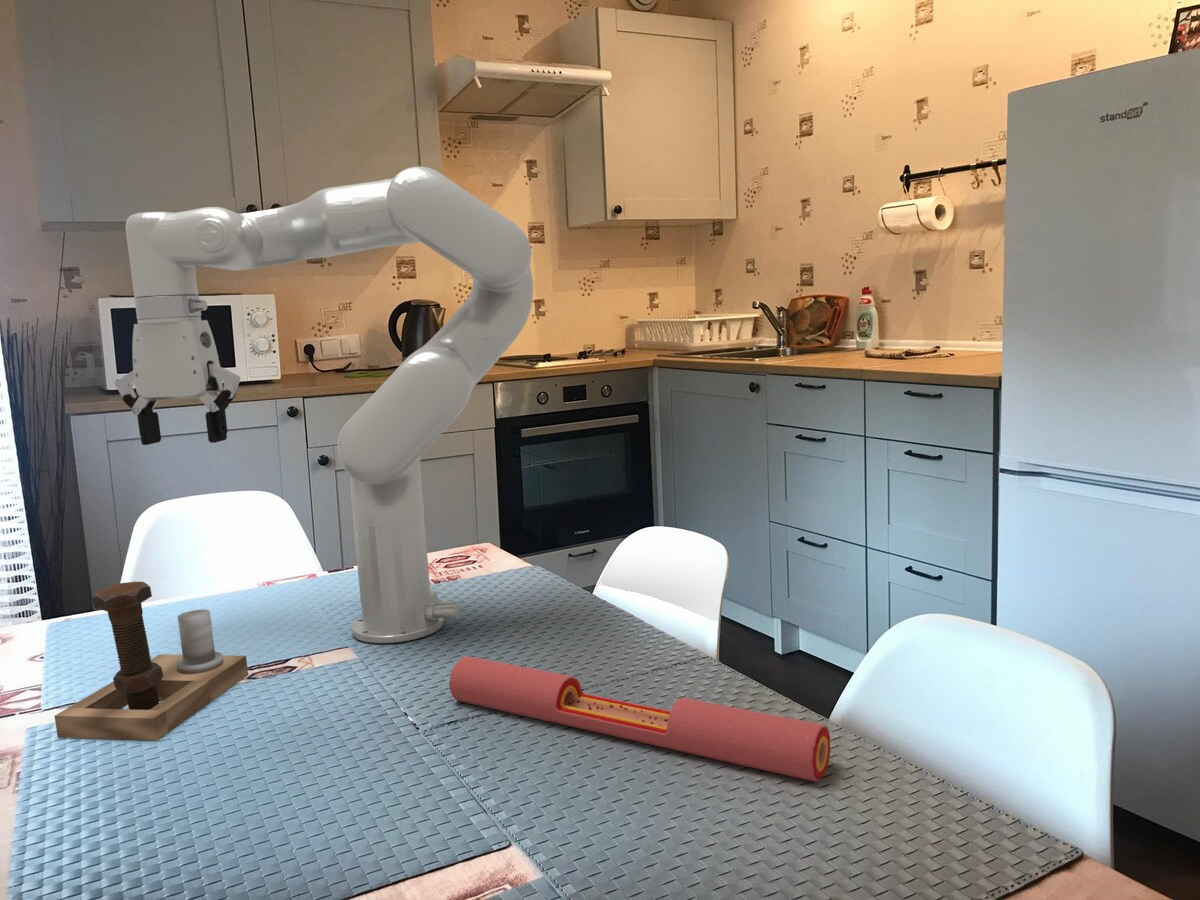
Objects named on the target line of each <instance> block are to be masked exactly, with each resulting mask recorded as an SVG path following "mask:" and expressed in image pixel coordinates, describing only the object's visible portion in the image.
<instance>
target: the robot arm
mask: <svg viewBox="0 0 1200 900" xmlns="http://www.w3.org/2000/svg"><path fill="white" fill-rule="evenodd" d="M125 236H126V242H127V251H128V258H129V264H130V273H131V280H132V287H133V288H132V289H133V297H134V305H135V313H136V319H137V323H134V324H133V331H132V345H131V346H132V348H131V349H132V350H131V351H132V368H133V369H132V370H131V371H130V372H128V373H127V374H125V375H124V376H122V377H121V378H119V379H118V380H116V382H115V384H114V386H115V388H116V389H117V391H118V393H119V395H120V396H121V397H122V400H123V403H124V404H126V405H127V407H129V408H130V409H131V413H132V414H133V415H135V416H136V417H137V424H138V431H139V435H140V443H141V444H142V445H143V446H148V445H153V444H157V443H160V442H161V441H162V436H161V430H160V429H161V427H160V421H159V414H158V412H157V411H154V410H155V408H156V406H157V405H158V403H159V401H161V400H180V399H182V400H184V399H196V398H198V399H199V400H200V402H202V404H204V405H205V407H206V408H207V409H208V410H209V411H206V412H205V421H206V430H207V431H206V432H207V438H208V442H209V443H212V444H213V443H214V444H215V443H219V442H223V441H226V440H227V437H228V435H227V433H228V425H227V414H226V410H228V409H229V407H230V404H231V402H233V400H234V398H235V397H236V395H237V392H236V391H238V387H239V384H240V381H241V377H240V376H239V375H238V374H236V373H234V372H232V371H230V370H228V369H226V368H225V367H221V364H220V360H219V354H218V350H217V346H216V343H215V339H214V335H213V333H212V329H211V327H210V325H209V321H208V320H207V319H203V320H202V317H201V316H202V311H206V310H207V309H208V303H207V300H205V299H200V295H199V290H198V282H197V274H196V266H197V267H198V266H200V267H208V268H214V269H215V268H216V269H222V270H228V271H246V270H253V269H254V270H255V269H258V268H265V267H272V266H278V265H285V264H289V263H296V262H301V261H306V260H311V259H312V260H313V259H322V258H331V257H335V256H339V255H345V254H346V255H347V254H352V253H357V252H364V251H369V250H375V249H382V248H388V247H394V246H395V247H397V246H403V245H408V244H409V245H410V244H416V243H422V244H424V245H425V246H426V247H428V248H429V249H430V250H432V251H434V252H435V253H437V254H438V255H440V256H441V257H443V258H444V259H445V260H447V261H449V262H451V263H452V264H453V265H455V266H456V267H458V268H459V269H461V270H462V271H464V272H466V273H467V274H468V275H470V277H471V279H472V285H471V287H472V288H471V290H470V293H469V295H468V297H467V299H466V300H465V301H464V302H463V303H462V304H461V305H460V307H458V309H457V310H456V311H455V312H454V313H453V314H452V315H451V317H450V318H449V319H448V320H447V322H446V323H444V324H443V326H442V327H441V328H440V329H439V330H438V331H437V332H436V333H435V334H434V335H433V336H432V337H431V338H430V340H428V341H427V342H426V343H425V344H424V345H423V346H422V347H420V348H418V349H417V350H414V351H413V352H412V353H411V354H410V355H408V356H407V357H406V359H404V361H402V363H400V365H399V366H398V367H397V368H396V369H395V370H394V371H393V372H392V374H391V375H390V376H389V377H388V378H386V380H385V381H384V382H383V384H381V385H380V387H379V388H377V390H375V392H374V393H373V394H372V395H371V396H370V397H369V398H368V399H367V400H366V401H365V402H364V403H363V404H362V406H361V407H359V409H358V410H357V411H356V412H355V413H354V414H352V416H351V417H350V418H349V419H348V420H347V421H346V422H345V423H344V425H343V426H342V429H340V432H339V435H338V437H337V445H336V446H337V449H336V450H337V456H338V459H339V462H340V465H341V466H342V468H343V470H344V471H345V472H346V473H347V474H348V475H349V479H350V480H349V481H350V482H349V483H350V497H351V510H352V520H353V535H354V543H355V545H354V546H355V556H356V564H357V565H356V566H357V574H358V577H357V578H358V587H359V595H360V596H359V597H360V605H361V617H359V618H358V619H357V620H356V621H353V623H352V625H351V632H352V636H353V637H354V638H355V639H356V640H358V641H360V642H366V643H370V644H371V643H372V644H394V643H396V644H397V643H403V642H409V641H413V640H418V639H421V638H424V637H427V636H429V635H432V634H433V633H436V632H437V631H439V630H440V629H441V628H442V627H443V626H444V625H445V620H458V619H459V618H460V614H461V612H460V606H459V604H457V602H456V600H454V601H453V600H451V601H450V600H448V601H441V599H438V596H439V595H438V591H437V590H431V585H430V572H429V561H428V551H427V549H428V548H427V537H426V527H425V526H426V525H425V524H426V523H425V510H424V508H425V507H424V498H423V488H422V487H423V486H422V485H423V484H422V471H421V469H422V468H421V456H422V455H423V454H424V453H425V451H427V450H428V449H429V447H430V446H431V445H432V444H433V443H434V442H435V441H436V440H437V439H438V438H439V437H440V436H441V435H442V433H443V432H445V430H446V429H447V428H448V427H449V426H450V425H451V424H452V423H453V422H454V420H455V419H457V418H458V416H459V415H460V414H461V412H462V411H463V410H464V409H465V407H466V405H467V404H468V403H469V400H470V397H471V395H472V392H473V389H474V388H475V386H476V385H477V384H478V383H479V382H480V380H481V379H483V377H485V375H486V374H487V373H488V372H489V371H490V370H491V369H492V368H493V366H494V365H495V364H496V362H498V361H499V360H500V358H501V357H502V356H503V355H504V353H506V351H507V350H508V349H509V348H510V346H511V345H512V344H513V343H514V342H515V341H516V339H517V338H518V337H519V335H520V333H521V332H522V330H523V329H524V327H525V325H526V322H527V321H528V318H529V316H530V313H531V310H532V304H533V298H534V297H533V296H534V281H533V275H532V270H531V266H530V265H531V262H532V255H533V253H532V247H531V244H530V241H529V238H528V236H527V235H526V233H525V232H524V231H523V229H522V228H521V227H519V225H517V224H516V223H515V222H513V221H512V220H511V219H509V218H508V217H506V216H504V215H503V214H502V213H500V212H498V211H497V210H495V209H494V208H492V207H491V206H489V205H488V204H487V203H486V202H483V201H482V200H480V199H479V198H478V197H476V196H475V195H473V194H472V193H470V192H468V191H467V190H466V189H464V188H462V186H460V185H458V184H456V183H455V182H454V181H452V180H451V179H450V178H448V177H447V176H445V175H444V174H443V173H441V172H439V171H438V170H435V169H433V168H430V167H428V166H412V167H408V168H405V169H403V170H401V171H400V172H398V173H397V174H396V175H395V176H394V177H392V178H385V179H382V180H381V179H380V180H376V181H369V182H368V181H367V182H362V183H361V182H360V183H355V184H347V185H346V184H345V185H339V186H333V187H332V186H331V187H326V188H322V189H320V190H318V191H315V192H314V193H313V194H311V195H310V196H308V197H307V198H305V199H304V200H303V199H302V200H301V201H299V202H295V203H292V204H290V205H286V206H281V207H275V208H270V209H266V210H265V209H264V210H259V211H251V212H245V213H244V212H243V213H238V212H235V211H233V210H230V209H227V208H224V207H220V206H207V207H201V208H200V207H199V208H194V209H190V210H185V211H179V212H178V211H177V212H171V211H146V212H144V211H143V212H137V213H133V214H131V215H129V216H128V217H127V219H126V222H125ZM134 385H135V386H134ZM133 386H134V387H135V390H134V388H133ZM135 391H136V392H135Z"/></svg>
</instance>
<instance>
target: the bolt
mask: <svg viewBox="0 0 1200 900" xmlns="http://www.w3.org/2000/svg"><path fill="white" fill-rule="evenodd" d="M151 588H152V587H151V586H150V585H149V584H148V583H146V582H144V581H129V582H127V581H126V582H120V583H116V584H113V585H110V586H107V587H104V588H102V589H100V590H98V591H97V592H96V593H94V595H93V596H92V604H93V608H94V609H97V610H101V611H103V612H104V611H105V612H107V615H108V620H109V621H110V624H111V629H112V635H113V639H114V644H115V649H116V653H117V658H118V664H119V669H120V670H118V671H117V672H116V674H115V675H114V677H112V678H113V681H114V685H115V688H116V689H117V690H118V691H119V692H121V693H125V694H126V698H127V699H126V700H127V703H128V704H127V706H128V707H127V709H130V710H150V709H151V708H153V707H154V706H156V705H157V704H159V703H160V700H158V699H159V698H158V693H157V689H156V685H157V684H159V682H160V681H161V679H162V678H163V672H162V667H161V666H159V665H158V664H157V663H155V662H151V659H152V658H151V653H150V647H149V642H148V637H147V631H146V628H145V622H144V617H143V613H144V612H143V605H142V603H144V602H145V601H147V600H148V599H150V598H151V597H153V594H152V590H151Z"/></svg>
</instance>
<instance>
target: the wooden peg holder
mask: <svg viewBox="0 0 1200 900" xmlns="http://www.w3.org/2000/svg"><path fill="white" fill-rule="evenodd" d="M211 618H212V617H211V611H210V610H209V609H193V610H190V611H185V612H183V613H181V614H179V615H177V623H178V632H179V637H180V640H179V641H180V646H181V647H180V648H181V653H182V654H160V653H159V654H158V655H156V656H153V658H150V659H151V662H155V663H157V664H158V665H159V666H161V667H162V672H163V678H162V679H161V681H160V682H159V684H157V685H156V689H157V693H158V698H159V699H158V700H159V704H157V705H156V706H154V707H153V708H151V709H150V710H130V709H129V708H127V709H125V708H124V707H126V706H128V703H127V700H126V699H127V698H126V694H125V693H121V692H119V691H118V690H117V689H116V688H115V685H114V680H113V681H111V682H110V683H109V684H106V685H105V686H102V687H101V688H99V689H98V690H97V691H94V692H93V693H90V695H88V696H86V697H84V698H82V699H81V700H79V701H77V702H75V703H74V704H73V705H71V706H68V707H67V708H65V709H64V710H62V711H60V712H58V713H56V714H55V715H54V721H55V729H56V734H57V738H58V737H70V738H69V739H87V740H88V739H89V740H91V739H92V740H122V741H123V740H124V741H127V740H128V741H152V742H154V741H155V742H157V741H158V740H160V739H161V738H163V737H164V736H165V735H167V734H168V733H169V732H171V731H172V730H174V729H175V728H177V727H178V726H180V725H181V724H182V723H184V722H185V721H186V720H188V719H189V718H190V717H192V716H193V715H194V714H196V713H197V712H199V711H200V710H201V709H203V708H204V707H206V706H207V705H209V704H210V703H211V702H213V701H214V700H216V698H218V697H220V696H221V695H222V694H223V693H225V692H227V691H228V690H229V689H231V688H232V687H234V686H235V685H236V684H238V683H239V682H241V680H244V678H245V677H247V676H249V669H248V662H247V661H248V660H247V656H246V655H232V654H229V655H227V654H226V655H225V654H224V655H223V653H221V652H219V651H216V650H215V643H214V633H213V627H212V619H211ZM122 708H124V709H122ZM73 737H75V738H73Z"/></svg>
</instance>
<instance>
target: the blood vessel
mask: <svg viewBox="0 0 1200 900" xmlns="http://www.w3.org/2000/svg"><path fill="white" fill-rule="evenodd" d="M449 690H450V694H451V696H452V697H453V699H454V700H456V701H458V702H461V703H462V702H463V703H465V704H470V705H473V706H474V705H475V706H480V707H484V708H488V709H493V710H498V711H501V712H505V713H510V714H513V715H518V716H522V717H523V716H524V717H526V718H527V717H528V718H532V719H537V720H540V721H545V722H549V723H554V724H557V725H558V724H559V725H563V726H568V727H571V728H577V729H579V730H580V729H582V730H585V731H590V732H594V733H597V734H602V735H606V736H611V737H616V738H621V739H624V740H629V741H633V742H638V743H641V744H646V745H651V746H655V747H660V748H663V749H669V750H673V751H677V752H682V753H686V754H690V755H695V756H698V757H704V758H707V759H711V760H712V759H713V760H716V761H721V762H725V763H730V764H734V765H735V764H736V765H738V766H743V767H748V768H752V769H757V770H760V771H761V770H762V771H764V772H765V771H766V772H770V773H773V774H774V773H775V774H777V775H778V774H779V775H782V776H787V777H793V778H796V779H801V780H803V781H809V782H813V783H818V782H820V779H822V778H823V776H824V775H825V774H826V772H827V769H828V766H829V763H830V755H831V735H830V733H831V732H830V731H829V730H830V729H829V728H828V727H827V725H825V724H821V723H816V722H810V721H806V720H801V719H796V718H791V717H784V716H779V715H775V714H770V713H764V712H759V711H754V710H748V709H743V708H738V707H733V706H729V705H728V706H727V705H723V704H717V703H714V702H708V701H702V700H697V699H693V698H688V697H687V698H686V697H681V698H678V699H677V700H676V701H675V702H674V703H673V705H672V707H671V709H670V710H668V709H662V708H656V707H652V706H648V705H643V704H637V703H632V702H627V701H623V700H619V699H612V698H608V697H604V696H598V695H594V694H589V693H584V692H583V689H582V686H581V682H580V681H579V680H578V678H576V677H575V676H572V675H568V674H562V673H557V672H552V671H546V670H541V669H537V668H531V667H525V666H520V665H516V664H510V663H505V662H499V661H494V660H490V659H485V658H480V657H479V658H478V657H474V656H469V655H468V656H463V657H461V658H459V659H458V661H457V662H456V663H455V664H454V666H453V668H452V670H451V672H450V675H449Z"/></svg>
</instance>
